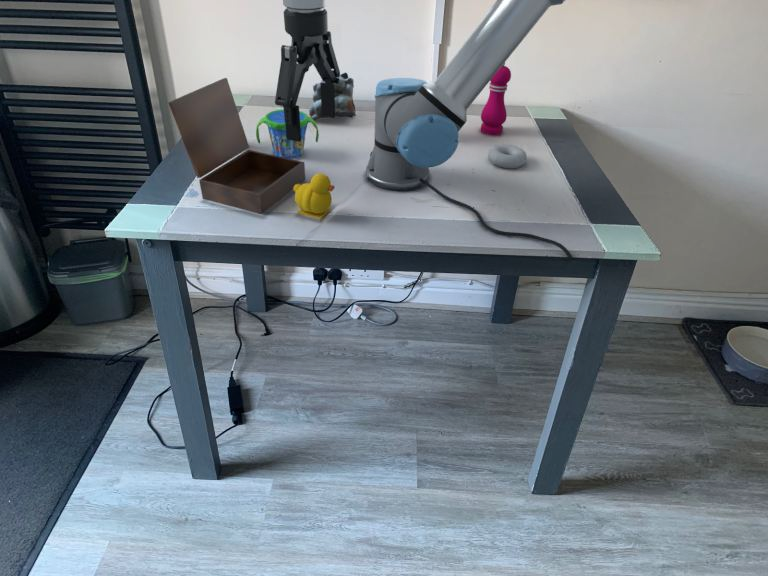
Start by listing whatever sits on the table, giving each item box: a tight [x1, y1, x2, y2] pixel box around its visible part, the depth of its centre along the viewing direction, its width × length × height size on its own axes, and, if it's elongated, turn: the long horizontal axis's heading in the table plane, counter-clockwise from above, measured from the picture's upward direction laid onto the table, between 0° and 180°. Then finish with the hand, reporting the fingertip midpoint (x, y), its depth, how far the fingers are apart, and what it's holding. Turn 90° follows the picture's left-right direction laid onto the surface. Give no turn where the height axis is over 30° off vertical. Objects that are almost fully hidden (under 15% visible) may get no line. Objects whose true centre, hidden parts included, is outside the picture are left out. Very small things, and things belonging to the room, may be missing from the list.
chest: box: [199, 149, 306, 215], centre depth 126 cm, size 15×18×5 cm
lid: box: [167, 77, 250, 179], centre depth 123 cm, size 16×18×5 cm
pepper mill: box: [480, 62, 512, 136], centre depth 156 cm, size 7×7×20 cm
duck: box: [292, 173, 336, 222], centre depth 117 cm, size 9×6×10 cm, turn 66°
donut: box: [487, 143, 528, 169], centre depth 144 cm, size 10×4×10 cm
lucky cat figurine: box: [308, 72, 357, 121], centre depth 164 cm, size 15×12×14 cm
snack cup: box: [255, 108, 320, 159], centre depth 141 cm, size 16×10×10 cm
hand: (312, 127), depth 109 cm, fingers open, 13 cm apart
